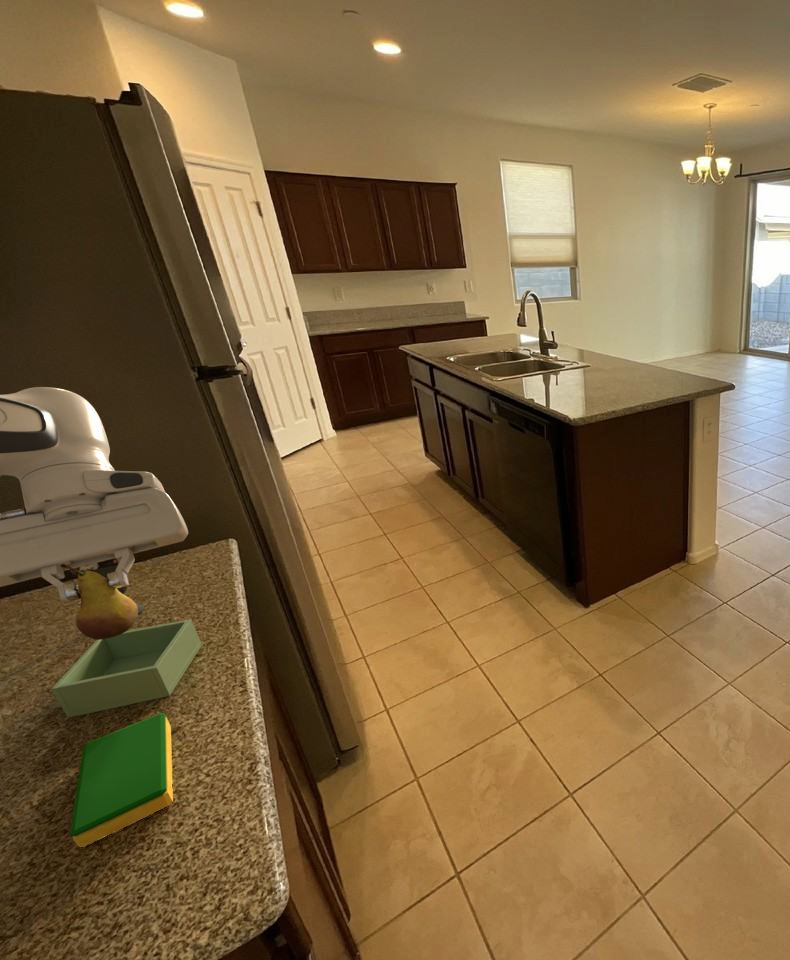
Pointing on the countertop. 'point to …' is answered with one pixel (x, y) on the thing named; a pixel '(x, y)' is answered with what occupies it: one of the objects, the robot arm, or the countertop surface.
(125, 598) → the fruit
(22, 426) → the robot arm
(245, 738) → the countertop surface
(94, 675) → the bin
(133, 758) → the dish sponge
